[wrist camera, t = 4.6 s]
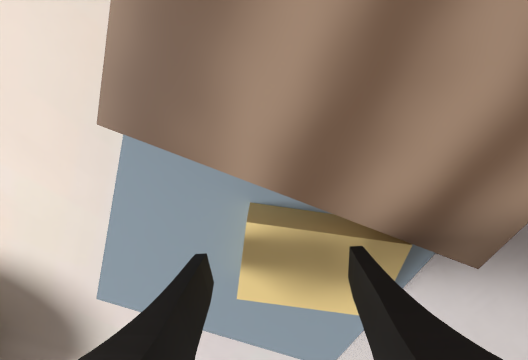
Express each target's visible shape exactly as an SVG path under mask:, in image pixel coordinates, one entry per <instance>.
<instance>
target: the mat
mask: <svg viewBox="0 0 528 360" xmlns="http://www.w3.org/2000/svg"><path fill="white" fill-rule="evenodd" d="M250 202H251V203H258V204H265V205H272V206H279V207H286V208H293V209H301V210H308V211H315V212H322V213H329V212H326V211H324V210H321V209H318V208H316V207H313V206H311V205H308V204H305V203H303V202H300V201H297V200H295V199H292V198H290V197H287V196H284V195H282V194H279V193H276V192H274V191H271V190H268V189H266V188H263V187H261V186H258V185H255V184H253V183H250V182H247V181H245V180H242V179H239V178H237V177H234V176H232V175H229V174H226V173H224V172H221V171H218V170H216V169H213V168H211V167H208V166H205V165H203V164H200V163H197V162H195V161H192V160H189V159H187V158H184V157H182V156H179V155H176V154H174V153H171V152H168V151H166V150H163V149H161V148H158V147H155V146H153V145H150V144H147V143H145V142H142V141H139V140H137V139H134V138H132V137H129V136H126V135H124V134H123V140H122V146H121V153H120V159H119V165H118V171H117V177H116V183H115V189H114V195H113V201H112V207H111V213H110V219H109V226H108V232H107V238H106V244H105V250H104V256H103V262H102V268H101V274H100V280H99V286H98V292H97V299H98V300H102V301H105V302H109V303H112V304H115V305H119V306H122V307H125V308H129V309H132V310H136V311H139V312H142V311H143V310H145V309H146V308H147V307H148V306H149V305H150V304H151V303H152V302H153V301H154V300H155V299H156V298H157V297H158V296H159V295H160V294H161V293H162V292H163V290H164V289H165V288H166V287H167V286H168V285H169V284H170V283H171V282H172V281H173V279H174V278H175V277H176V276H177V275H178V274H179V272H180V271H181V270H182V269H183V268H184V267H185V265H186V264H187V263H188V262H189V261H190V259H191V258H192V257H193V256H194V255H195V254H204V253H207V256H208V260H209V264H210V268H211V272H212V276H213V280H214V286H213V293H212V298H211V303H210V307H209V310H208V314H207V317H206V320H205V324H204V327H203V331H207V332H210V333H213V334H217V335H220V336H223V337H227V338H230V339H234V340H237V341H240V342H244V343H247V344H250V345H254V346H257V347H261V348H264V349H267V350H271V351H274V352H277V353H281V354H284V355H288V356H291V357H294V358H298V359H301V360H336V359H337V358H338V357H339V356H340V355H341V354H342V353H343V352H344V351H345V350H346V349H347V348H348V347H349V345H350V344H351V343H352V342H353V341H354V340H355V339H356V338H357V337H358V336H359V335H360V334H361V333H362V331H363V330H364V328H363V325H362V322H361V320H360V317H359V315H352V314H344V313H337V312H329V311H322V310H314V309H307V308H299V307H292V306H284V305H277V304H269V303H262V302H254V301H247V300H240V299H237V292H238V284H239V276H240V268H241V261H242V253H243V245H244V237H245V229H246V222H247V216H248V211H249V205H250ZM329 214H332V213H329ZM434 254H435V253H434V252H432V251H429V250H426V249H424V248H421V247H418V246H416V245H413V244H412V247H411V249H410V251H409V253H408V255H407V257H406V259H405V261H404V263H403V265H402V267H401V269H400V271H399V273H398V275H397V277H396V279H395V282H396V283H397V284H398V285H399V286H400V287H401V288H403V287H404V286H405V285H406V284H407V283H408V282H409V281H410V280H411V279H412V278H413V277H414V276H415V275H416V273H417V272H418V271H419V270H420V269H421V268H422V267H423V266H424V265H425V264H426V263H427V262H428V261H429V259H430V258H431V257H432V256H433V255H434Z"/></svg>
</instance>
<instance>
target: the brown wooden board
mask: <svg viewBox="0 0 528 360" xmlns="http://www.w3.org/2000/svg"><path fill="white" fill-rule="evenodd" d="M97 125H100V126H103V127H105V128H108V129H110V130H113V131H116V132H118V133H121V134H124V135H126V136H129V137H132V138H134V139H137V140H139V141H142V142H145V143H147V144H150V145H153V146H155V147H158V148H161V149H163V150H166V151H168V152H171V153H174V154H176V155H179V156H182V157H184V158H187V159H189V160H192V161H195V162H197V163H200V164H203V165H205V166H208V167H211V168H213V169H216V170H218V171H221V172H224V173H226V174H229V175H232V176H234V177H237V178H239V179H242V180H245V181H247V182H250V183H253V184H255V185H258V186H261V187H263V188H266V189H268V190H271V191H274V192H276V193H279V194H282V195H284V196H287V197H290V198H292V199H295V200H297V201H300V202H303V203H305V204H308V205H311V206H313V207H316V208H318V209H321V210H324V211H326V212H329V213H332V214H334V215H337V216H340V217H342V218H345V219H347V220H350V221H353V222H355V223H358V224H361V225H363V226H366V227H368V228H371V229H374V230H376V231H379V232H382V233H384V234H387V235H390V236H392V237H395V238H397V239H400V240H403V241H405V242H408V243H411V244H413V245H416V246H418V247H421V248H424V249H426V250H429V251H432V252H434V253H437V254H440V255H442V256H445V257H447V258H450V259H453V260H455V261H458V262H461V263H463V264H466V265H469V266H471V267H474V268H476V269H479V268H480V267H481V266H482V265H483V264H484V263H485V262H486V261H488V260H489V259H490V258H491V257H492V256H493V255H494V254H495V253H496V252H497V251H498V250H499V249H500V248H501V247H502V246H504V245H505V244H506V243H507V242H508V241H509V240H510V239H511V238H512V237H513V236H514V235H515V234H516V233H517V232H519V231H520V230H521V229H522V228H523V227H524V226H525V225H526V224H527V223H528V0H111V3H110V12H109V21H108V30H107V38H106V47H105V56H104V65H103V73H102V82H101V91H100V100H99V109H98V117H97Z"/></svg>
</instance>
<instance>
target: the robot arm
mask: <svg viewBox="0 0 528 360" xmlns="http://www.w3.org/2000/svg"><path fill="white" fill-rule="evenodd" d="M348 279H349V284H350V288H351V292H352V297H353V300H354V303H355V305H356V308H357V311H358V314H359V317H360V320H361V322H362V325H363V328H364V331H365V334H366V336H367V339H368V342H369V345H370V348H371V351H372V355H373V358H374V360H503V359H501V358H499V357H497V356H496V355H494V354H492V353H490V352H488V351H487V350H485V349H483V348H482V347H480V346H478V345H477V344H475V343H474V342H472V341H470V340H469V339H467V338H466V337H464V336H463V335H461V334H460V333H458V332H457V331H455V330H454V329H452V328H451V327H450V326H448V325H447V324H445V323H444V322H442V321H441V320H440V319H438V318H437V317H435V316H434V315H433V314H432V313H430V312H429V311H428V310H426V309H425V308H424V307H423V306H422V305H420V304H419V303H418V302H417V301H416V300H414V299H413V298H412V297H411V296H410V295H409V294H408V293H407V292H406V291H405V290H403V289H402V288H401V287H400V286H399V285H398V284H397V283H396V282H395V281H394V280H393V279H392V278H391V277H390V276H389V275H388V274H387V273H386V272H385V271H384V270H383V268H382V267H381V266H380V265H379V264H378V263H377V262H376V261H375V260H374V258H373V257H372V256H371V255H370V254H369V253H368V251H367V250H366V249H365V248H364V247H363V246H350V247H349V267H348ZM213 286H214V280H213V276H212V272H211V268H210V264H209V260H208V256H207V253H204V254H195V255H194V256H193V257H192V258H191V259H190V261H189V262H188V263H187V264H186V265H185V267H184V268H183V269H182V270H181V271H180V272H179V274H178V275H177V276H176V277H175V278H174V279H173V281H172V282H171V283H170V284H169V285H168V286H167V287H166V288H165V289H164V290H163V292H162V293H161V294H160V295H159V296H158V297H157V298H156V299H155V300H154V301H153V302H152V303H151V304H150V305H149V306H148V307H147V308H146V309H145V310H143V311H142V312H141V313H140V314H139V315H138V316H137V317H136V318H134V319H133V320H132V321H131V322H129V323H128V324H127V325H126V326H125V327H123V328H122V329H121V330H120V331H118V332H117V333H116V334H114V335H113V336H112V337H110V338H109V339H108V340H106V341H105V342H104V343H102V344H101V345H99V346H98V347H96V348H95V349H93V350H92V351H91V352H89V353H88V354H86V355H84V356H83V357H81V358H80V359H78V360H195V355H196V351H197V347H198V344H199V341H200V337H201V334H202V330H203V327H204V324H205V320H206V317H207V314H208V310H209V307H210V303H211V298H212V293H213Z"/></svg>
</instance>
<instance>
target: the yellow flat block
mask: <svg viewBox="0 0 528 360" xmlns="http://www.w3.org/2000/svg"><path fill="white" fill-rule="evenodd" d="M350 246H363V247H364V248H365V249H366V250H367V251H368V253H369V254H370V255H371V256H372V257H373V258H374V260H375V261H376V262H377V263H378V264H379V265H380V266H381V267H382V268H383V270H384V271H385V272H386V273H387V274H388V275H389V276H390V277H391V278H392V279H393V280H394V281H395V279H396V277H397V275H398V273H399V271H400V269H401V267H402V265H403V263H404V261H405V259H406V257H407V255H408V253H409V251H410V249H411V247H412V244H411V243H408V242H405V241H403V240H400V239H397V238H395V237H392V236H390V235H387V234H384V233H382V232H379V231H376V230H374V229H371V228H368V227H366V226H363V225H361V224H358V223H355V222H353V221H350V220H347V219H345V218H342V217H340V216H337V215H334V214H329V213H322V212H315V211H308V210H301V209H293V208H286V207H279V206H272V205H265V204H258V203H251V202H250V205H249V211H248V216H247V222H246V229H245V237H244V245H243V253H242V261H241V268H240V276H239V284H238V292H237V299H240V300H247V301H254V302H262V303H269V304H277V305H284V306H292V307H299V308H307V309H314V310H322V311H329V312H337V313H344V314H352V315H359V314H358V311H357V308H356V305H355V303H354V300H353V297H352V292H351V288H350V284H349V279H348V267H349V247H350Z"/></svg>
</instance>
